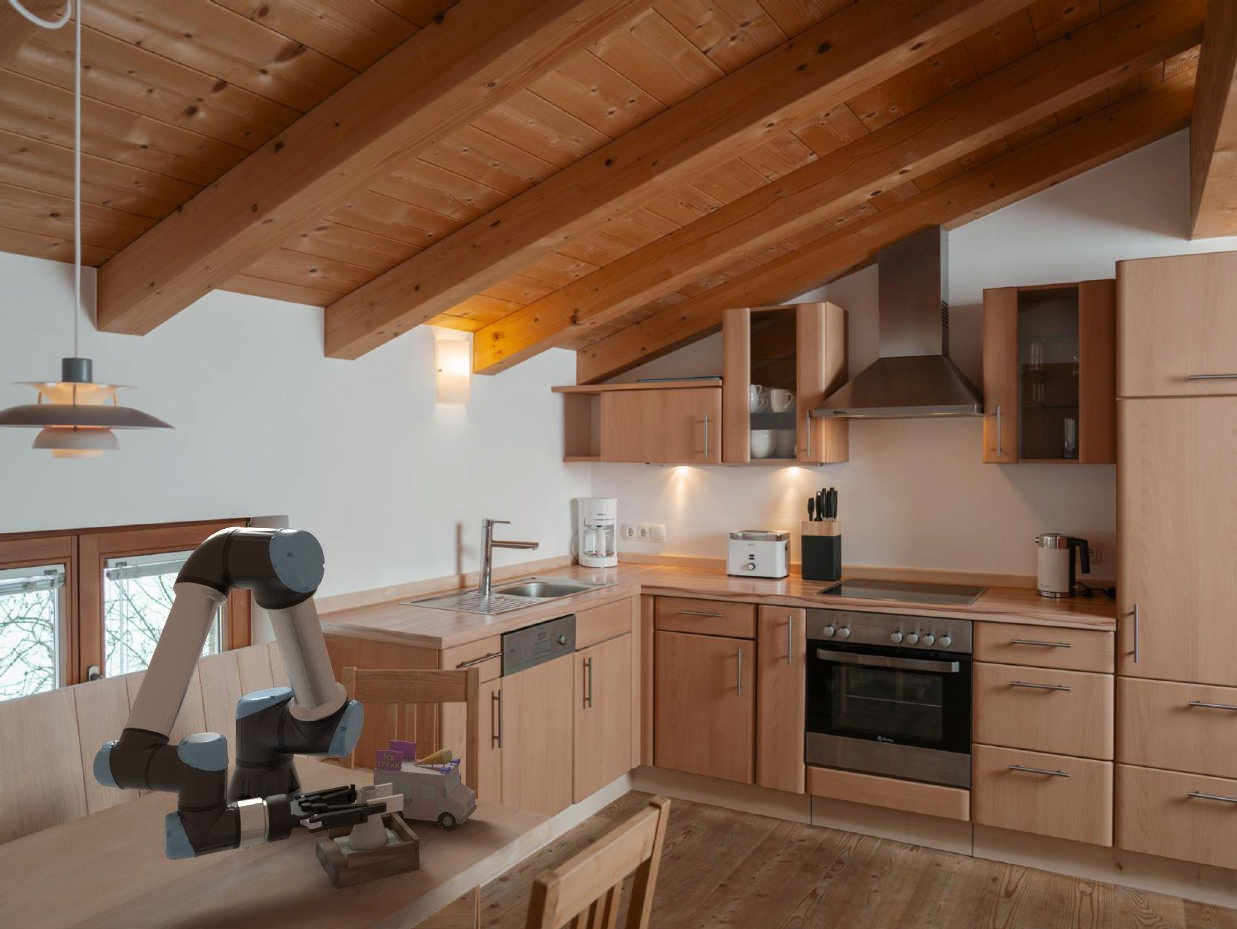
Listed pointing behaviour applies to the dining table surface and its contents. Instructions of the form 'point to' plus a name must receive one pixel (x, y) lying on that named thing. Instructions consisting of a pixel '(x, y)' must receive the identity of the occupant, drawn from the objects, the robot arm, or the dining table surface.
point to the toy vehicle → (425, 784)
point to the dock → (368, 854)
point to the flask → (368, 826)
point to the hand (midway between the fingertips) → (396, 796)
